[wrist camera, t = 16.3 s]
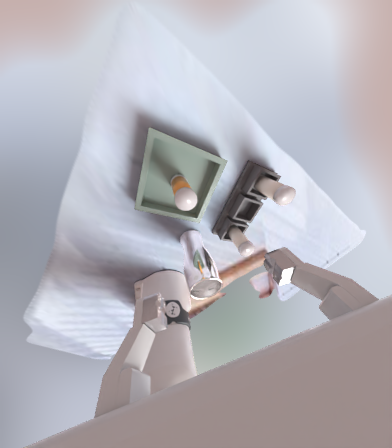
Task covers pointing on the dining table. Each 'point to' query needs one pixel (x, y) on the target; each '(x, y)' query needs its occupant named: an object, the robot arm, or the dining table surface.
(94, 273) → the dining table surface
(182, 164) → the parts tray
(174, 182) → the cylinder
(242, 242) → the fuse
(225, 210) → the fuse block
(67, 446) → the robot arm
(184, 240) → the beer glass
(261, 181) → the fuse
